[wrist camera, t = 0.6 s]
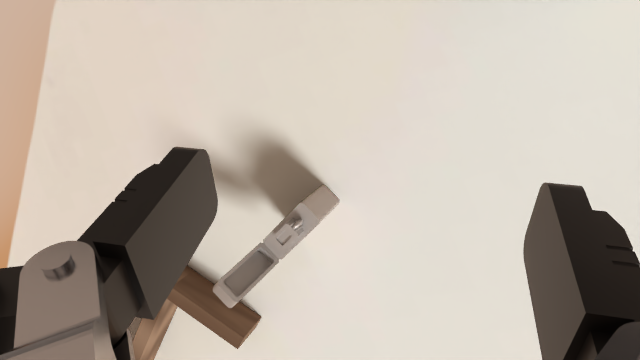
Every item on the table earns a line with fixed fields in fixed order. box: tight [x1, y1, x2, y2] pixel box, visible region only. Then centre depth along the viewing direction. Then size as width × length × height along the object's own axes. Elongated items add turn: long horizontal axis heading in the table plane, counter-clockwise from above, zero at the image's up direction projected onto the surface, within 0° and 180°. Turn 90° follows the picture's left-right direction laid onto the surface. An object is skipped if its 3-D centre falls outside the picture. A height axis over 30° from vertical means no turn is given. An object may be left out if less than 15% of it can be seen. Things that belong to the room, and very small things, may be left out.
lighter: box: [213, 185, 339, 308], centre depth 30 cm, size 7×2×8 cm, turn 138°
